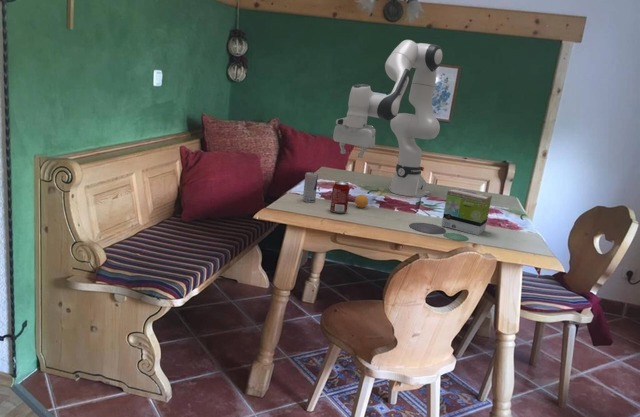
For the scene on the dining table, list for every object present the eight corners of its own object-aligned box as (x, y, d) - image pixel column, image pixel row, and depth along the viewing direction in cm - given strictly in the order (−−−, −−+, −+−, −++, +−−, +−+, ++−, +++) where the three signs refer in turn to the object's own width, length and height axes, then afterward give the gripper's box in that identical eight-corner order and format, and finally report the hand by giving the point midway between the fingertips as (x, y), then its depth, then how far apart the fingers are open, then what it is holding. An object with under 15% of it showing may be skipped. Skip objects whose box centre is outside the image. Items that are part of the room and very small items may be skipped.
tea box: (440, 226, 204) (446, 190, 201) (448, 222, 213) (454, 187, 209) (478, 236, 197) (485, 198, 193) (485, 231, 205) (492, 194, 202)
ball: (359, 205, 224) (361, 192, 223) (369, 208, 221) (371, 195, 220) (351, 206, 220) (353, 194, 219) (362, 210, 217) (363, 196, 215)
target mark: (421, 221, 209) (421, 220, 209) (452, 230, 200) (452, 230, 200) (402, 226, 198) (402, 225, 198) (434, 236, 190) (434, 235, 190)
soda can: (345, 215, 206) (348, 185, 203) (328, 212, 207) (331, 183, 204) (347, 211, 212) (351, 182, 209) (331, 208, 213) (334, 180, 210)
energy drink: (316, 201, 224) (319, 173, 221) (312, 203, 219) (315, 175, 216) (305, 198, 226) (308, 171, 223) (300, 201, 221) (303, 173, 218)
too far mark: (450, 231, 198) (450, 231, 198) (472, 238, 192) (472, 237, 192) (439, 235, 191) (439, 235, 191) (461, 242, 186) (461, 241, 186)
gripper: (380, 126, 215) (375, 159, 218) (342, 120, 228) (338, 151, 231) (371, 126, 211) (366, 160, 214) (333, 119, 223) (328, 151, 226)
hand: (351, 155), depth 223 cm, fingers open, 8 cm apart
